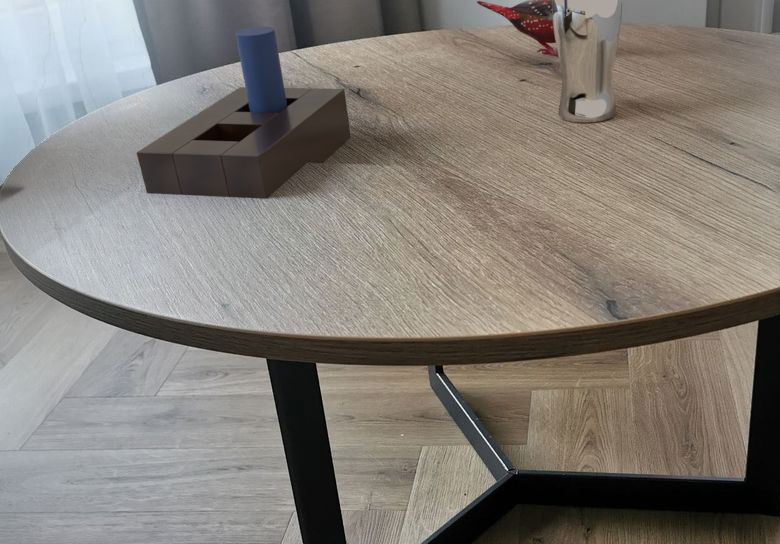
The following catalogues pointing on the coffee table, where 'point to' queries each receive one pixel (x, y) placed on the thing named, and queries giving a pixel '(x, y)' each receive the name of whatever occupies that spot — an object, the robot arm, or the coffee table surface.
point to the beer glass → (587, 57)
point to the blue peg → (261, 69)
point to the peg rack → (246, 145)
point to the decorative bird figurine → (530, 20)
